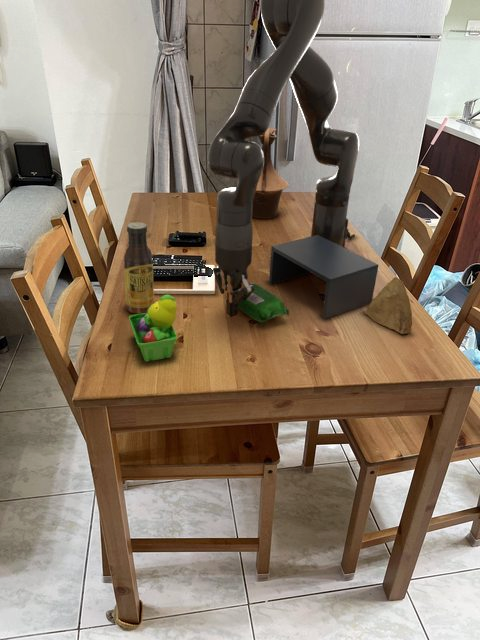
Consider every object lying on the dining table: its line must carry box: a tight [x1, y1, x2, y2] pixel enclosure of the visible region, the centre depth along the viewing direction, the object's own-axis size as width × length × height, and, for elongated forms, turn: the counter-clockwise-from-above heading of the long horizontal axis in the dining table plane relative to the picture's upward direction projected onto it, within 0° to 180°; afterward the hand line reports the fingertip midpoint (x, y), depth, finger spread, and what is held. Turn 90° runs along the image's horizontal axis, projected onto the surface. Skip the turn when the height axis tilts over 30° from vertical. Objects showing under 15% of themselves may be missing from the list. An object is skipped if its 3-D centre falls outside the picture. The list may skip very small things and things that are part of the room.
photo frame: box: [153, 264, 216, 295], centre depth 128 cm, size 15×1×18 cm
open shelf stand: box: [268, 235, 379, 320], centre depth 123 cm, size 15×21×10 cm
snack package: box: [239, 281, 290, 324], centre depth 115 cm, size 7×16×5 cm, turn 35°
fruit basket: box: [128, 294, 178, 362], centre depth 100 cm, size 11×9×11 cm
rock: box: [364, 276, 413, 335], centre depth 112 cm, size 11×9×10 cm
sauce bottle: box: [123, 221, 155, 314], centre depth 111 cm, size 6×6×20 cm
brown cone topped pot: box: [252, 127, 290, 219], centre depth 166 cm, size 18×17×28 cm
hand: (232, 314), depth 112 cm, fingers closed
